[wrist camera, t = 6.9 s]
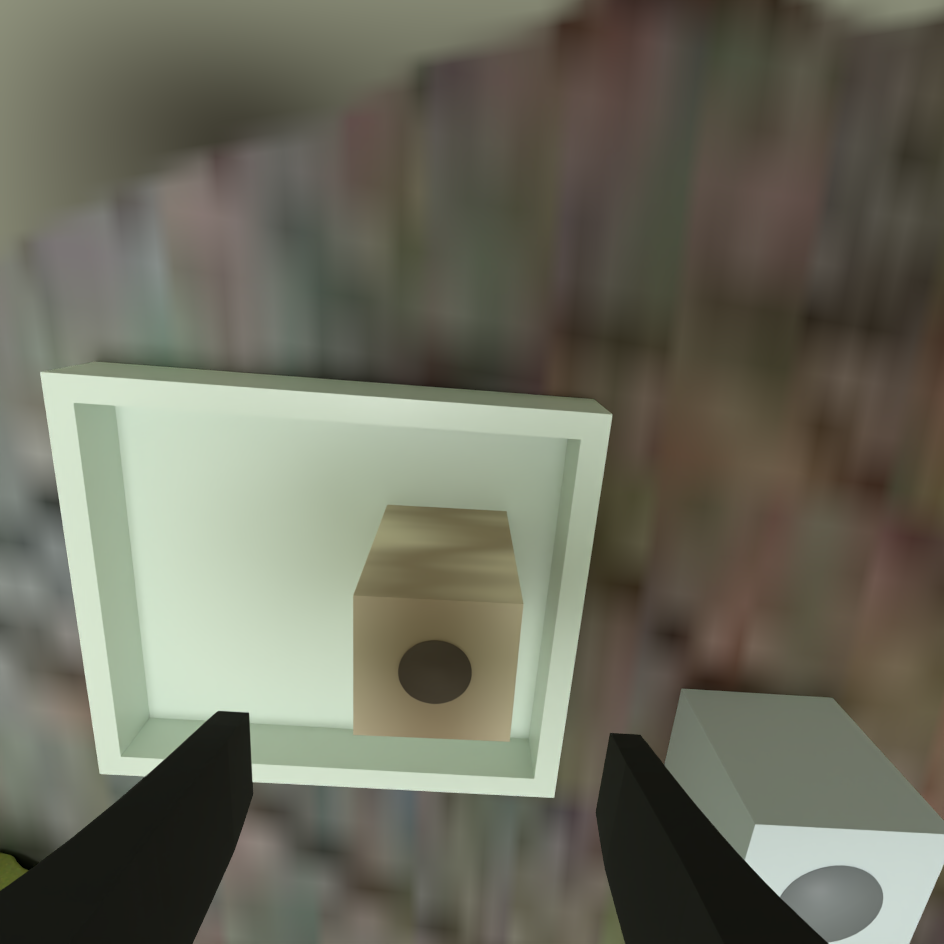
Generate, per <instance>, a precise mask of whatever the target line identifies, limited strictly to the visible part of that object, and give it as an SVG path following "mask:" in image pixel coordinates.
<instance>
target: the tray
mask: <svg viewBox="0 0 944 944" xmlns="http://www.w3.org/2000/svg"><path fill="white" fill-rule="evenodd" d="M40 374H41V381H42V388H43V395H44V401H45V408H46V415H47V421H48V428H49V435H50V442H51V448H52V455H53V462H54V469H55V475H56V482H57V489H58V495H59V502H60V509H61V516H62V522H63V529H64V536H65V543H66V549H67V556H68V563H69V569H70V576H71V583H72V590H73V596H74V603H75V610H76V617H77V623H78V630H79V637H80V644H81V650H82V657H83V664H84V670H85V677H86V684H87V691H88V697H89V704H90V711H91V718H92V724H93V731H94V738H95V744H96V751H97V758H98V765H99V771H100V774H113V775H132V776H146V775H147V774H149V773H150V772H151V771H152V770H153V769H154V768H155V767H157V766H158V765H159V764H160V763H161V762H162V761H163V760H164V759H165V758H166V757H168V756H169V755H170V754H171V753H172V752H173V751H174V750H175V749H176V748H177V747H179V746H180V745H181V744H182V743H183V742H184V741H185V740H186V739H187V738H188V737H189V736H190V735H192V734H193V733H194V732H195V731H196V730H197V729H198V728H199V727H200V726H201V725H202V724H203V723H205V722H206V721H207V720H208V719H209V718H210V717H211V716H212V715H214V714H215V713H216V712H217V711H231V712H248V713H249V720H250V740H251V761H252V782H264V783H283V784H302V785H321V786H340V787H359V788H378V789H397V790H416V791H435V792H454V793H473V794H492V795H511V796H530V797H549V798H554V794H555V788H556V781H557V775H558V768H559V762H560V755H561V749H562V742H563V735H564V729H565V722H566V716H567V709H568V703H569V696H570V690H571V683H572V677H573V670H574V663H575V657H576V650H577V644H578V637H579V631H580V624H581V618H582V611H583V605H584V598H585V591H586V585H587V578H588V572H589V565H590V559H591V552H592V546H593V539H594V533H595V526H596V519H597V513H598V506H599V500H600V493H601V487H602V480H603V474H604V467H605V461H606V454H607V448H608V441H609V434H610V428H611V421H612V415H613V414H611V413H610V412H609V411H608V410H607V409H605V408H604V407H603V406H602V405H601V404H599V403H598V402H597V401H596V400H595V399H588V398H574V397H561V396H548V395H534V394H521V393H508V392H494V391H481V390H468V389H454V388H441V387H428V386H414V385H401V384H388V383H375V382H361V381H348V380H335V379H321V378H308V377H295V376H281V375H268V374H255V373H241V372H228V371H215V370H201V369H188V368H175V367H161V366H148V365H135V364H122V363H108V362H91V363H86V364H81V365H75V366H70V367H64V368H59V369H54V370H48V371H43V372H40ZM387 505H402V506H421V507H439V508H458V509H476V510H495V511H507V517H508V522H509V528H510V533H511V539H512V544H513V549H514V555H515V560H516V566H517V571H518V577H519V582H520V588H521V593H522V599H523V614H522V624H521V634H520V644H519V654H518V664H517V674H516V684H515V694H514V704H513V714H512V724H511V734H510V742H504V741H481V740H458V739H435V738H412V737H389V736H366V735H353V595H354V592H355V589H356V587H357V584H358V581H359V579H360V576H361V573H362V571H363V568H364V565H365V563H366V560H367V557H368V555H369V552H370V549H371V547H372V544H373V541H374V539H375V536H376V533H377V531H378V528H379V525H380V523H381V520H382V517H383V515H384V512H385V509H386V507H387Z"/></svg>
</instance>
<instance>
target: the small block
mask: <svg viewBox="0 0 944 944" xmlns="http://www.w3.org/2000/svg"><path fill="white" fill-rule="evenodd" d="M522 614H523V599H522V593H521V588H520V582H519V577H518V571H517V566H516V560H515V555H514V549H513V544H512V539H511V533H510V528H509V522H508V517H507V511H495V510H476V509H458V508H439V507H421V506H402V505H387V507H386V509H385V512H384V515H383V517H382V520H381V523H380V525H379V528H378V531H377V533H376V536H375V539H374V541H373V544H372V547H371V549H370V552H369V555H368V557H367V560H366V563H365V565H364V568H363V571H362V573H361V576H360V579H359V581H358V584H357V587H356V589H355V592H354V595H353V735H366V736H389V737H412V738H435V739H458V740H481V741H504V742H510V734H511V724H512V714H513V704H514V694H515V684H516V674H517V664H518V654H519V644H520V634H521V624H522Z"/></svg>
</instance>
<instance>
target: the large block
mask: <svg viewBox="0 0 944 944" xmlns="http://www.w3.org/2000/svg"><path fill="white" fill-rule="evenodd" d="M665 767H666V768H667V769H668V770H669V772H670V773H671V774H672V775H673V777H674V778H675V779H676V780H677V782H678V783H679V784H680V785H681V787H682V788H683V789H684V790H685V792H686V793H687V794H688V795H689V797H690V798H691V799H692V800H693V802H694V803H695V804H696V805H697V806H698V808H699V809H700V810H701V811H702V812H703V813H704V815H705V816H706V817H707V818H708V819H709V821H710V822H711V823H712V824H713V825H714V826H715V828H716V829H717V830H718V831H719V832H720V833H721V835H722V836H723V837H724V838H725V839H726V840H727V841H728V843H729V844H730V845H731V846H732V847H733V848H734V849H735V850H736V852H737V853H738V854H739V855H740V856H741V857H742V858H743V859H744V860H745V861H746V862H747V863H748V865H749V866H750V867H751V868H752V869H753V870H754V871H755V872H756V873H757V874H758V875H759V876H760V877H761V878H762V880H763V881H764V882H765V883H766V884H767V885H768V886H769V887H770V888H771V889H772V890H773V891H774V892H775V893H776V894H777V895H778V896H779V897H780V898H781V899H782V900H783V901H784V902H785V903H786V904H787V905H789V906H790V907H791V908H792V909H793V910H794V911H795V912H796V913H797V914H798V915H799V916H800V917H801V918H802V919H803V920H804V921H805V922H806V923H807V924H808V925H809V926H810V927H811V928H813V929H814V930H815V931H816V932H817V933H818V934H819V935H820V936H821V937H822V938H823V939H824V940H825V941H827V942H828V943H829V944H909V943H910V940H911V938H912V936H913V933H914V931H915V929H916V927H917V924H918V922H919V920H920V917H921V915H922V913H923V911H924V908H925V906H926V904H927V901H928V899H929V897H930V894H931V892H932V890H933V888H934V885H935V883H936V881H937V878H938V876H939V874H940V872H941V869H942V867H943V865H944V821H943V819H942V818H941V817H940V816H939V815H938V814H937V813H936V812H935V811H934V809H933V808H932V807H931V806H930V805H929V804H928V803H927V802H926V801H925V800H924V798H923V797H922V796H921V795H920V794H919V793H918V792H917V791H916V790H915V788H914V787H913V786H912V785H911V784H910V783H909V782H908V781H907V780H906V779H905V777H904V776H903V775H902V774H901V773H900V772H899V771H898V770H897V769H896V767H895V766H894V765H893V764H892V763H891V762H890V761H889V760H888V759H887V758H886V756H885V755H884V754H883V753H882V752H881V751H880V750H879V749H878V748H877V746H876V745H875V744H874V743H873V742H872V741H871V740H870V739H869V738H868V736H867V735H866V734H865V733H864V732H863V731H862V730H861V729H860V728H859V727H858V725H857V724H856V723H855V722H854V721H853V720H852V719H851V718H850V717H849V715H848V714H847V713H846V712H845V711H844V710H843V709H842V708H841V707H840V706H839V704H838V703H837V702H836V701H835V700H834V699H833V698H829V697H812V696H796V695H779V694H763V693H746V692H730V691H713V690H697V689H681V693H680V698H679V702H678V707H677V711H676V716H675V720H674V724H673V729H672V733H671V738H670V742H669V747H668V751H667V756H666V760H665Z"/></svg>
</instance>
